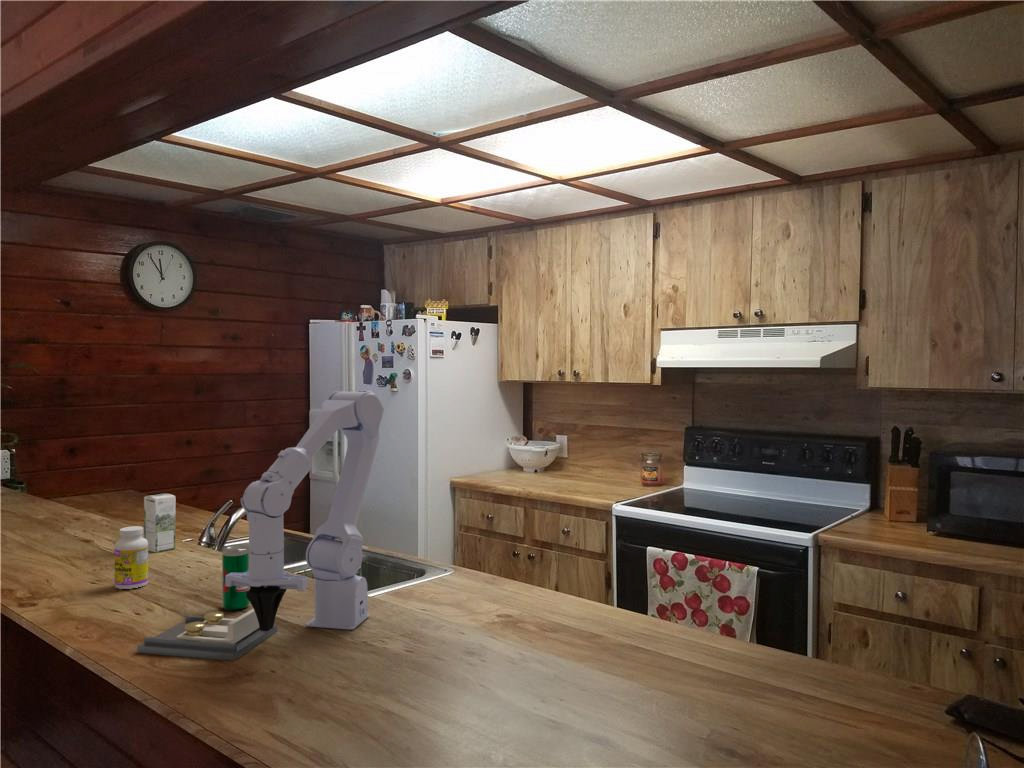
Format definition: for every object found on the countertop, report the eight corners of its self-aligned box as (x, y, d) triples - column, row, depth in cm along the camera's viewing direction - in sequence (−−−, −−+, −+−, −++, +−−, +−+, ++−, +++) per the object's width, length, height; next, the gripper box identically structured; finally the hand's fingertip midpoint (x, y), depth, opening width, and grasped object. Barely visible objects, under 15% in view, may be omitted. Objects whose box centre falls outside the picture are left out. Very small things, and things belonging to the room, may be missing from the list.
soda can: (240, 612, 146) (240, 551, 146) (217, 610, 147) (216, 550, 147) (254, 604, 151) (253, 545, 151) (232, 602, 152) (231, 544, 152)
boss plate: (277, 631, 135) (276, 610, 135) (233, 661, 122) (233, 637, 122) (188, 624, 139) (188, 604, 139) (137, 652, 125) (136, 629, 125)
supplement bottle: (107, 588, 162) (107, 530, 162) (133, 580, 168) (132, 524, 168) (130, 592, 160) (129, 532, 160) (155, 583, 166) (154, 526, 166)
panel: (261, 626, 134) (261, 607, 134) (229, 646, 124) (229, 625, 124) (211, 622, 136) (211, 603, 136) (176, 642, 126) (176, 621, 126)
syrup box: (164, 545, 202) (164, 492, 201) (176, 549, 198) (175, 494, 198) (143, 550, 197) (143, 495, 197) (155, 553, 194) (155, 497, 193)
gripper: (214, 554, 125) (215, 634, 126) (294, 558, 123) (294, 640, 123) (238, 544, 132) (238, 620, 133) (313, 548, 130) (313, 625, 130)
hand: (266, 629), depth 128 cm, fingers closed
